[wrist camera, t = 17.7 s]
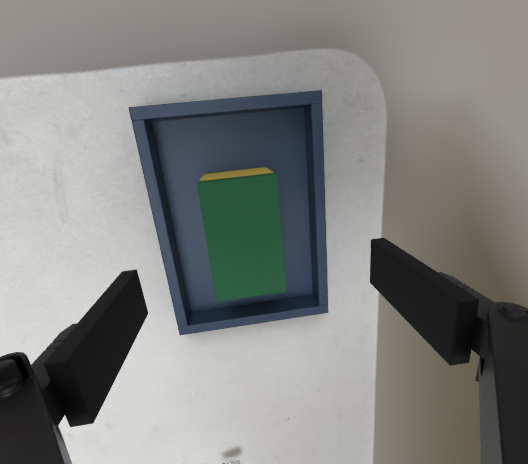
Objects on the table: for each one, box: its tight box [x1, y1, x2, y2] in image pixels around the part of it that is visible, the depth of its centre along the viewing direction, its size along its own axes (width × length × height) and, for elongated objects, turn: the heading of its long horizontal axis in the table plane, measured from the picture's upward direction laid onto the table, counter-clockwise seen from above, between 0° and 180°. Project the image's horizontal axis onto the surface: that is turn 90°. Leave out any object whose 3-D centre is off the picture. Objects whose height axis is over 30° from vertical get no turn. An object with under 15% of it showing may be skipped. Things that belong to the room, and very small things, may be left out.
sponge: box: [197, 167, 286, 302], centre depth 26 cm, size 10×6×7 cm, turn 6°
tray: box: [129, 90, 328, 335], centre depth 28 cm, size 22×16×3 cm
